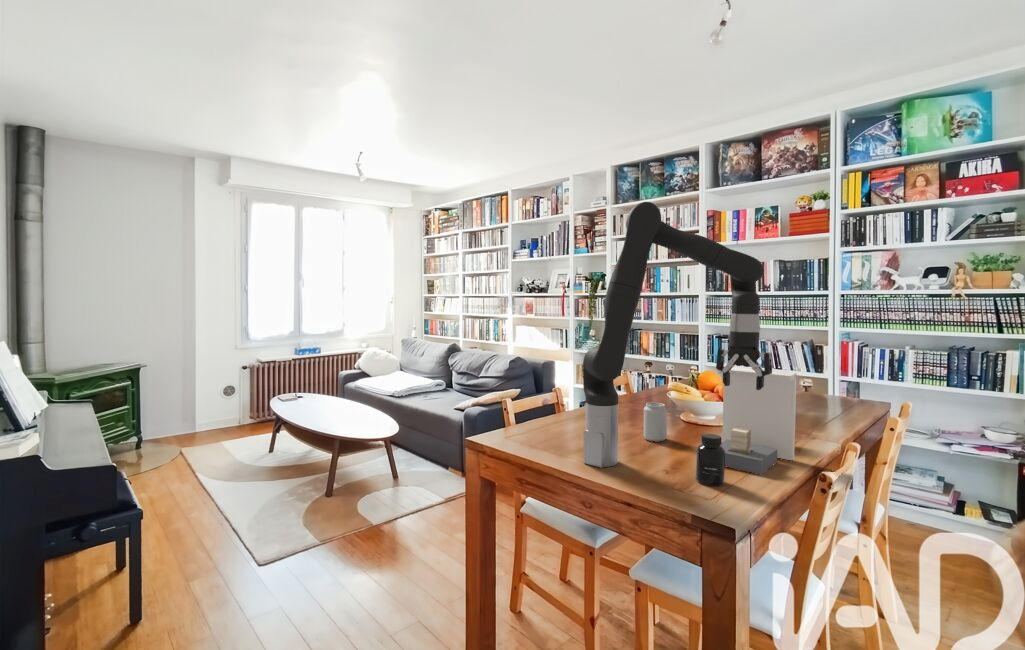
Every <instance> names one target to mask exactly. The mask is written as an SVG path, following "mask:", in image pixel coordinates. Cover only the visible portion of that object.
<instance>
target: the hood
mask: <svg viewBox="0 0 1025 650" xmlns="http://www.w3.org/2000/svg"><path fill="white" fill-rule="evenodd" d="M763 371H764V369H763ZM729 373H730V385H729V386H725V384H723V392H722V393H723V396H722V397H723V398H722V399H723V400H722V402H723V403H722V440H721V442H724V441H726V440H727V439H728V440H731V430H732V429H734V428H736V427H737V428H743V429H749V430H751V444H754V445H759V446H765V447H770V448H775V449H777V458H783V459H788V460H794V461H795V445H796V443H795V439H796V437H795V436H796V410H797V409H796V405H797V401H796V400H797V375H798V374H797V372H788V371H787V372H786V371H775V370H772V374H769V375H765V376H764V387H763V388H761V390H756V379H757V376H758V375H757V374H756V372H755V371H754V370H753V369H752V368H742V367H733V368H732V369H731V370H730V371H729ZM717 375H723V372H722V371H720V370H717Z"/></svg>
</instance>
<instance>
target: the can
mask: <svg viewBox="0 0 1025 650" xmlns="http://www.w3.org/2000/svg"><path fill="white" fill-rule="evenodd" d="M665 406H666V404H664V403H662V402H646V403H645V406H644V407H643V437H644V439H645V440H646V439H647V440H646V441H649V442H653V441H655V442H656V443H657V442H658V443H660V441H661V442H664V441H665V440H666V439H667V437H668V436H667V433H668V432H667V429H668V428H667V427H668V426H667V425H668V409H667V408H666V407H665Z"/></svg>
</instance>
